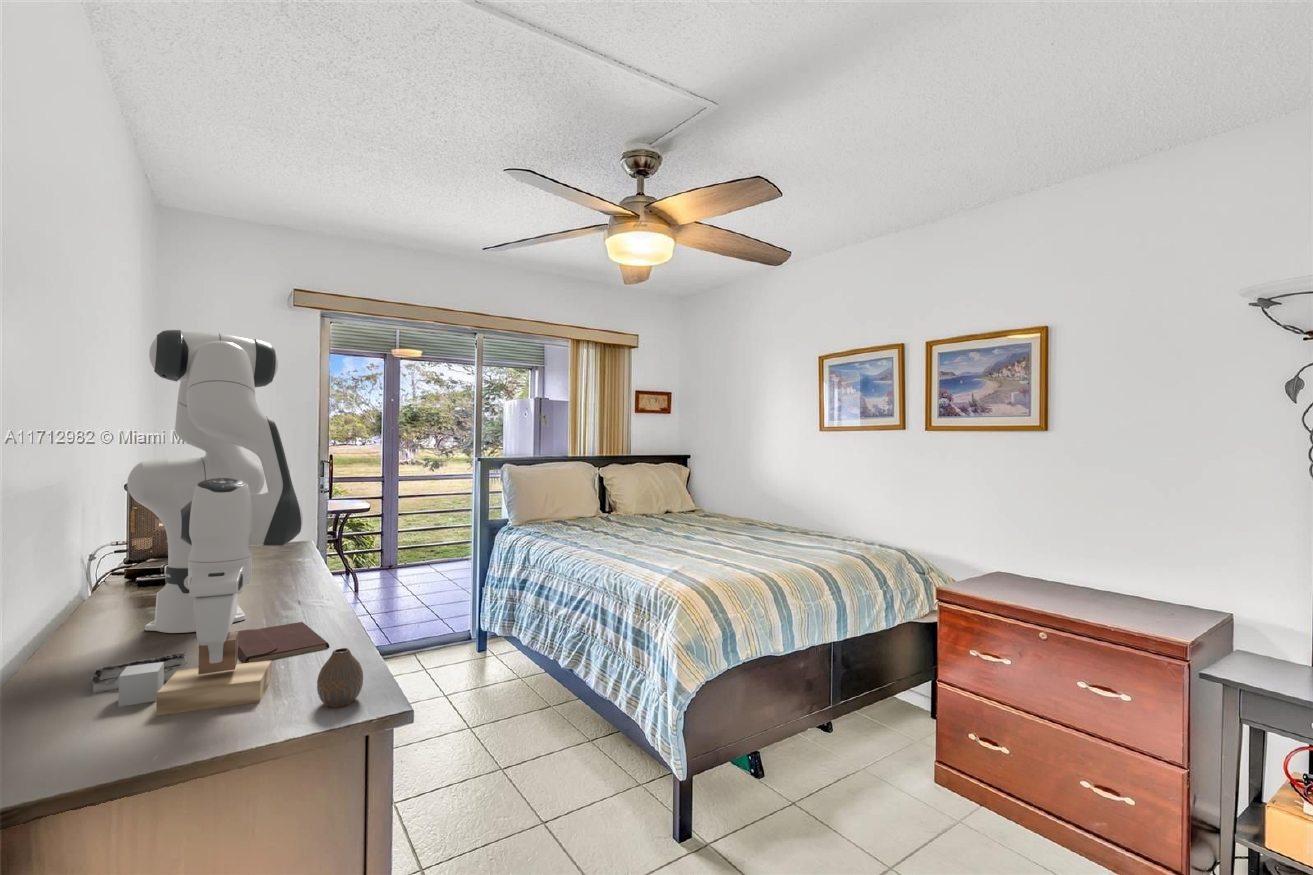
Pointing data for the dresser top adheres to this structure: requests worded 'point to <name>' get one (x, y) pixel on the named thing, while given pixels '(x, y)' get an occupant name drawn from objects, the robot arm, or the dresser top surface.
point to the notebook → (278, 642)
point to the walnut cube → (228, 656)
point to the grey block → (140, 683)
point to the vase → (340, 679)
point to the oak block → (214, 688)
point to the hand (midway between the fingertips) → (218, 655)
